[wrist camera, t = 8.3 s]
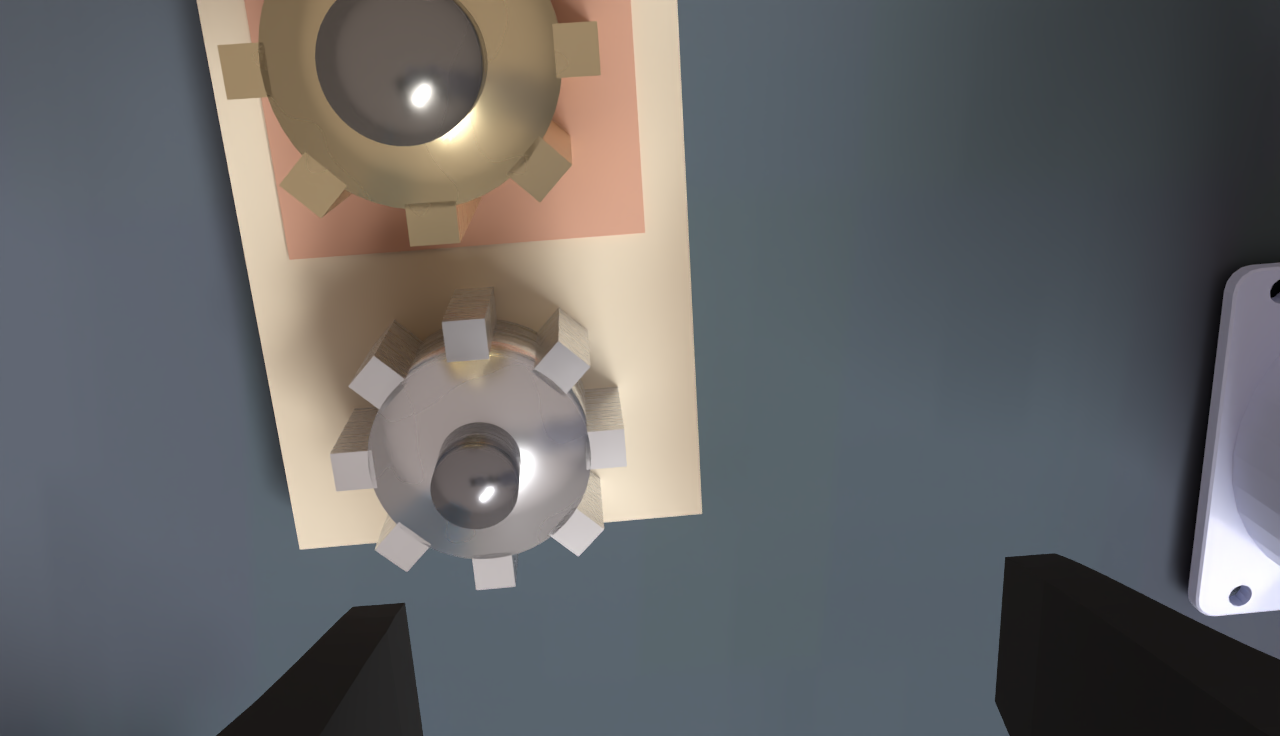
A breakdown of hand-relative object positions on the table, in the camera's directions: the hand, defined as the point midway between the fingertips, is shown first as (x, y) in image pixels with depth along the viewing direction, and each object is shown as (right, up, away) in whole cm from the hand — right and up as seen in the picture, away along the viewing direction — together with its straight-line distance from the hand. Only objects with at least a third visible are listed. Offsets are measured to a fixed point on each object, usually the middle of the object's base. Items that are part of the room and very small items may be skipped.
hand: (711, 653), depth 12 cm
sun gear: (-4, +3, +7) cm, 9 cm away
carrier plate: (-4, +7, +7) cm, 11 cm away
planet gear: (-4, +9, +5) cm, 11 cm away
